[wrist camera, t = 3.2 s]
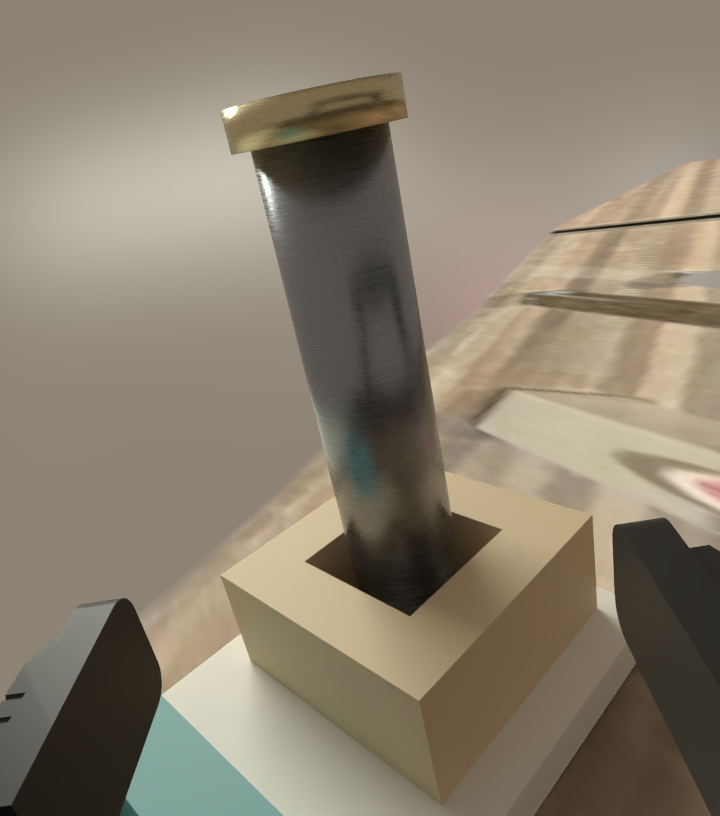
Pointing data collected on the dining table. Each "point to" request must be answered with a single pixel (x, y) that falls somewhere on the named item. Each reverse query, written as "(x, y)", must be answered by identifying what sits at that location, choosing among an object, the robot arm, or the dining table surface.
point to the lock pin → (357, 322)
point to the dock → (362, 783)
